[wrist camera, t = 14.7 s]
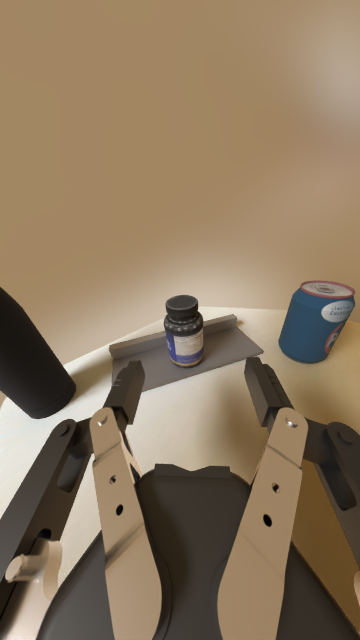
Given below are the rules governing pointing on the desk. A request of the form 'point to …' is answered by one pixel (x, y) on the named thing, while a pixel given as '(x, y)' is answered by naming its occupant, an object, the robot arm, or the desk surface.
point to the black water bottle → (30, 364)
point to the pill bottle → (184, 331)
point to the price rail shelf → (152, 351)
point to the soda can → (315, 320)
